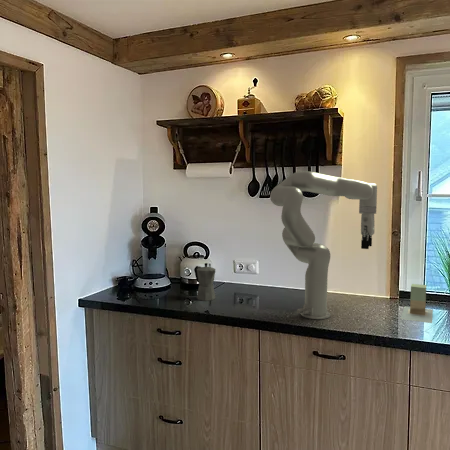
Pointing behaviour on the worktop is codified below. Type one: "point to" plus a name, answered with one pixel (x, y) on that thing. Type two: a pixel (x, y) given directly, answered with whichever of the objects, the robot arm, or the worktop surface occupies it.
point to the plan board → (417, 315)
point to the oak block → (417, 307)
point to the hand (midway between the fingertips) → (366, 247)
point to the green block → (418, 292)
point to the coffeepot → (205, 282)
